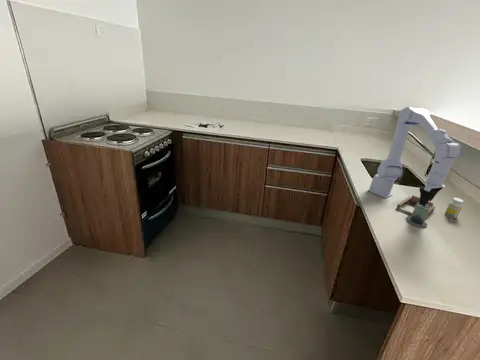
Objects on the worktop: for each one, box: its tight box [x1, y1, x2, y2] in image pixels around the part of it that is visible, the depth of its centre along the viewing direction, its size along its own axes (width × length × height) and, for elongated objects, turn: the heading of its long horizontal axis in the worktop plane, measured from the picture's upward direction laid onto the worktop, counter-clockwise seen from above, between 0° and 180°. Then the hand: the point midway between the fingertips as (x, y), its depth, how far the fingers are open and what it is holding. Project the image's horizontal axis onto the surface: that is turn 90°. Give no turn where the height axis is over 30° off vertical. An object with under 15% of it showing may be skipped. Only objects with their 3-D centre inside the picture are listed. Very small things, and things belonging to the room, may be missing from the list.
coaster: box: [405, 215, 428, 229], centre depth 118 cm, size 8×8×1 cm
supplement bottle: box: [444, 197, 464, 219], centre depth 126 cm, size 5×5×8 cm
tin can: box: [410, 202, 431, 225], centre depth 116 cm, size 5×5×8 cm
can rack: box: [395, 194, 436, 218], centre depth 128 cm, size 11×15×4 cm
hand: (425, 202), depth 114 cm, fingers open, 7 cm apart
